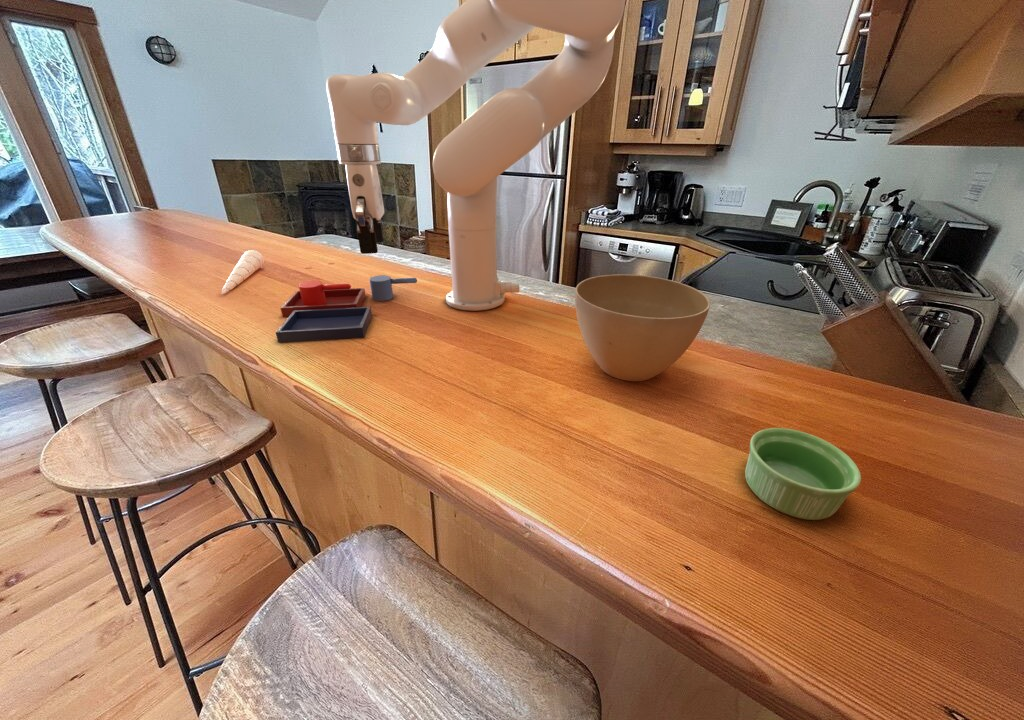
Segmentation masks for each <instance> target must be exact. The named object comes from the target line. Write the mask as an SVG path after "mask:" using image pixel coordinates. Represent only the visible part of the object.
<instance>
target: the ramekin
mask: <svg viewBox="0 0 1024 720" xmlns="http://www.w3.org/2000/svg"><path fill="white" fill-rule="evenodd" d="M748 453H749V454H748V456H747V457H748V458H747V460H746V461H747V462H746V465H745V471H744V476H745V481H746V484H747V485H748V487H749V488H750V490H751V491H752V492H753V493H754V494H755V495H756V496H757V497H758V499H760V500H761V501H762V502H764V503H765V504H766V505H767V506H769V507H771V508H773V509H775V510H776V511H778V512H780V513H783V514H785V515H788V516H790V517H793V518H797V519H802V520H807V521H808V520H809V521H818V520H819V521H820V520H824V519H828V518H830V517H832V516H833V515H834V514H836V512H837V511H838V510H839V509H840V507H841V506H842V505H843V503H844V502H845V500H846V499H847V498H848V497H849V495H850V494H853V492H854V491H855V490H856V489H857V488H858V487H859V486H860V484H861V481H862V475H861V474H862V473H861V471H860V469H859V467H858V465H857V464H856V463H855V461H854V460H853V459H852V458H851V457H850V456H849V455H848V454H846V453H845V451H843V450H842V449H840V448H839V447H837V446H835V445H834V444H833V443H831V442H829V441H827V440H826V439H823V438H821V437H818V436H816V435H813V434H811V433H808V432H804V431H801V430H797V429H792V428H786V427H785V428H784V427H770V428H764V429H760V430H758V431H757V432H755V433H754V434H753V435H752V436H751V438H750V442H749V452H748Z"/></svg>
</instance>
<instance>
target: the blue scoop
mask: <svg viewBox="0 0 1024 720" xmlns="http://www.w3.org/2000/svg"><path fill="white" fill-rule="evenodd" d="M417 282H418V279H417V278H416V277H401V278H399V277H398V278H392V277H391V276H390V275H383V274H382V275H381V274H380V275H374V276H372V277H369V285H370V291H371V292H370V293H371V297H372V300H373V301H376V302H385V301H389V300H392V299H393V298H394V291H393V285H398V284H401V285H403V284H416V283H417Z"/></svg>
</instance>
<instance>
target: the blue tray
mask: <svg viewBox="0 0 1024 720" xmlns="http://www.w3.org/2000/svg"><path fill="white" fill-rule="evenodd" d="M372 318H373V313H372V307H371V306H361V307H357V308H337V309H317V310H297V311H293V312H292V314H291V315H290V316H289V317H286V319H285V320H284V322H283V323H282V324H281V325H280V327H279V328H278V329H277V330H276V331H275V335H276V339H277V343H294V342H309V341H311V342H312V341H326V340H327V341H328V340H342V339H359V338H365V336H366V333H367V330H368V328H369V325H370V322H371V319H372Z"/></svg>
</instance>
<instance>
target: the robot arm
mask: <svg viewBox="0 0 1024 720" xmlns="http://www.w3.org/2000/svg"><path fill="white" fill-rule="evenodd" d="M625 5H626V0H465V1H464V2H463V3H462V4H460V6H458V7H457V8H456V9H454V10H453V11H452V12H451V13H449V14H448V15H447V16H446V17H444V18H443V19H442V21H441V23H440V24H439V27H438V29H437V32H436V36H435V40H434V42H433V44H432V47H431V49H430V50H429V51H428V52H427V54H426V55H425V56H424V57H423V59H421V61H420V62H418V63H417V64H416V65H415V66H414V67H412V68H411V69H410V70H409V71H407V72H406V73H405V74H404V75H402V76H399V75H397V74H393V73H391V72H375V73H369V74H365V75H364V74H363V75H357V74H356V75H355V74H333V75H330V76H329V77H327V78H326V81H325V82H326V83H325V87H326V94H327V99H328V103H329V104H328V105H329V112H330V118H331V124H332V129H333V134H334V140H335V141H334V142H335V147H336V151H337V152H336V153H337V158H338V164H339V165H345V174H346V181H347V188H348V189H347V190H348V196H349V202H350V208H351V213H352V218H353V219H354V220H356V231H357V239H358V245H359V251H360V254H362V255H369V254H370V255H371V254H377V253H378V252H379V251H378V250H379V249H378V244H377V243H383V242H384V237H383V236H384V235H383V226H382V223H381V219H382V218H383V216H384V215H385V207H384V200H383V194H382V188H381V181H380V176H379V171H378V167H377V165H381V164H382V161H381V159H382V158H381V153H380V145H379V137H378V129H377V123H380V124H384V125H385V124H386V125H392V126H393V125H394V126H411V125H414V124H416V123H418V122H420V121H421V120H422V119H424V118H425V117H426V116H428V115H429V114H431V113H432V112H433V111H434V110H436V109H438V107H440V106H441V105H442V104H444V103H445V102H446V101H447V100H448V99H449V98H451V97H452V96H453V95H454V94H455V93H456V92H457V91H458V90H459V89H460V88H462V87H463V86H464V85H466V83H468V81H469V80H470V79H471V78H472V77H473V76H474V75H476V74H477V73H478V72H479V71H480V70H482V69H483V68H485V66H487V65H488V64H490V63H491V62H493V60H495V59H496V58H497V57H499V56H500V55H502V54H503V53H504V52H506V51H507V50H508V49H510V48H511V47H512V46H514V45H515V44H517V42H519V41H520V40H522V39H523V38H524V37H526V36H527V35H528V34H529V33H530V32H532V31H533V30H534V29H535V28H538V29H542V30H545V31H546V30H547V31H551V32H554V33H558V34H563V35H564V37H565V41H564V45H563V47H562V50H561V51H560V53H559V54H558V55H557V56H556V57H555V58H554V59H552V60H551V61H549V62H548V63H547V64H545V65H544V66H542V68H541V69H540V70H539V71H538V72H537V73H536V74H535V75H533V76H532V77H531V78H530V79H529V80H527V81H526V82H525V83H524V84H522V85H521V86H520V87H509V88H506V89H503V90H500V91H499V92H498V93H495V94H494V95H493V96H492V97H490V98H488V100H487V101H485V102H484V103H483V104H482V105H481V106H480V107H478V108H477V109H476V110H475V111H473V113H472V114H470V115H469V116H468V117H467V118H466V119H464V120H463V121H462V122H461V123H460V124H459V125H457V126H456V127H455V128H454V129H453V130H451V131H450V132H449V133H448V134H447V135H446V136H445V137H444V138H443V139H442V140H441V141H440V142H439V143H438V145H437V146H436V148H435V150H434V152H433V157H432V172H433V176H434V179H435V181H436V182H437V184H438V186H439V187H440V188H442V190H444V191H445V192H446V193H447V197H446V198H447V205H446V207H447V225H448V226H447V227H448V230H447V231H448V242H449V244H448V245H449V257H450V272H451V287H452V288H451V291H450V292H448V293H447V294H446V296H445V303H446V304H447V305H448V306H449V307H451V308H453V309H455V310H460V311H470V312H471V311H472V312H475V311H477V312H479V311H486V310H492V309H495V308H497V307H499V306H501V305H503V303H504V302H505V297H506V296H505V294H506V293H510V294H517V293H520V283H512V281H511V280H510V281H501V280H500V279H499V277H498V256H497V255H498V249H497V245H498V244H497V224H498V223H497V196H498V195H497V192H498V177H499V176H501V175H502V174H503V173H504V172H505V171H507V170H508V169H509V168H511V167H512V166H513V165H514V164H516V163H517V162H518V161H520V160H521V159H522V158H524V157H525V156H526V155H527V154H529V153H530V152H531V151H533V150H534V149H535V148H536V147H537V146H538V144H540V142H541V141H542V140H543V139H544V138H545V137H546V136H547V135H549V134H550V133H551V132H552V131H553V130H555V129H556V128H557V127H559V126H560V125H561V124H563V123H564V122H565V121H566V120H567V119H569V117H571V116H572V115H573V114H574V113H575V112H577V111H578V110H579V109H580V108H581V107H583V106H584V105H585V104H586V103H587V102H589V101H590V99H591V98H592V97H593V96H594V95H595V94H596V93H597V92H598V90H599V89H600V88H601V86H602V84H603V82H604V81H605V78H606V77H607V75H608V72H609V69H610V68H611V67H610V66H611V63H612V59H613V56H614V55H613V54H614V47H615V34H616V30H617V28H618V26H619V25H620V22H621V20H622V18H623V15H624V11H625Z"/></svg>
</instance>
